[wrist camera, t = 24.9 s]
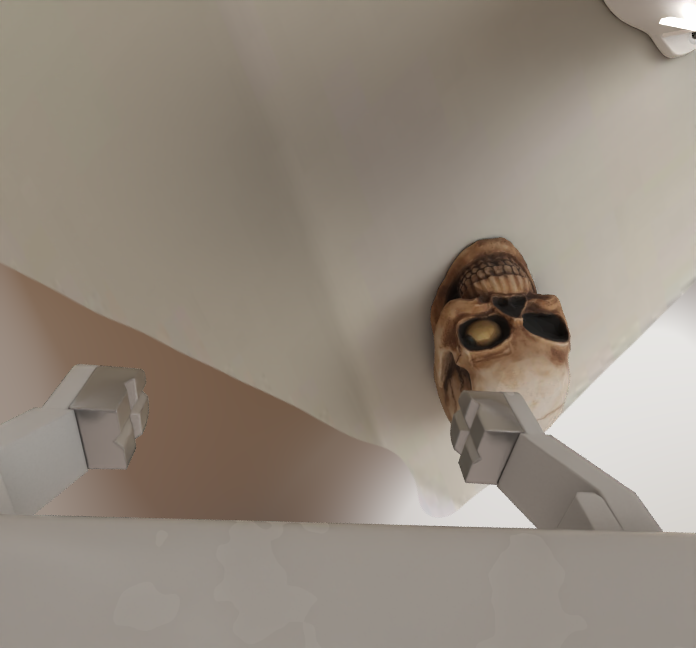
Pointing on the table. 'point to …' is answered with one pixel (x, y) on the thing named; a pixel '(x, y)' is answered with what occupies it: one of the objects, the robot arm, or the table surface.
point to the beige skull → (499, 332)
